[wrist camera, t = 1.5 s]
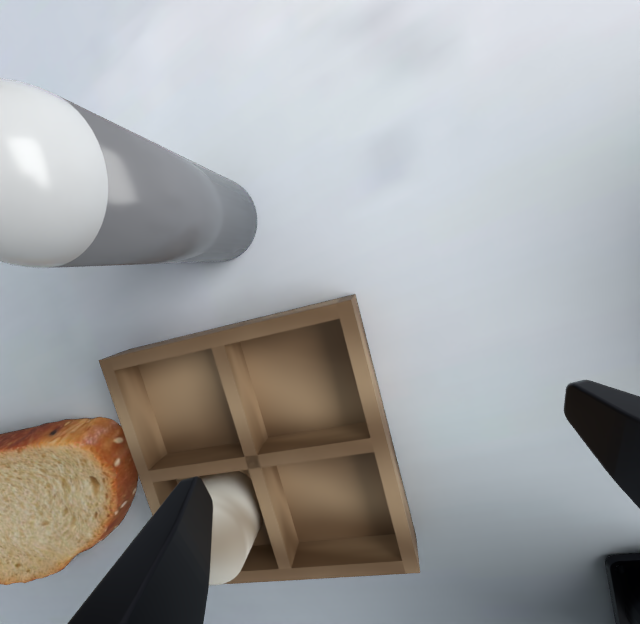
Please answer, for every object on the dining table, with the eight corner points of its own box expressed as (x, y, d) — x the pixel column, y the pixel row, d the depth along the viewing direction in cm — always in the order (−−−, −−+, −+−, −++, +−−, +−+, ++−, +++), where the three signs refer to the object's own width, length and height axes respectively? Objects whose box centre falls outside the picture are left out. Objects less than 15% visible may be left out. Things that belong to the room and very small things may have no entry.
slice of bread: (154, 435, 24) (114, 467, 20) (101, 617, 28) (59, 671, 24) (-47, 337, 26) (-117, 350, 22) (-71, 519, 30) (-133, 555, 26)
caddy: (416, 536, 21) (423, 599, 17) (197, 553, 25) (162, 609, 21) (355, 294, 19) (348, 303, 15) (129, 349, 23) (76, 368, 19)
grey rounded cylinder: (266, 249, 20) (46, 238, 7) (195, 270, 21) (-113, 294, 8) (243, 166, 19) (-42, -14, 6) (172, 192, 20) (-200, 81, 7)
